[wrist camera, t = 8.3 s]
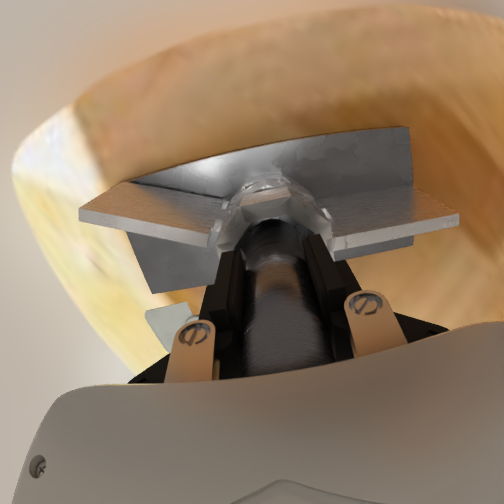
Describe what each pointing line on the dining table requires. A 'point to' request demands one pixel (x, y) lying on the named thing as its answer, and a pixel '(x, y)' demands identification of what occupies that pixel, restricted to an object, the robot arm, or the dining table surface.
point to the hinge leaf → (171, 212)
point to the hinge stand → (298, 200)
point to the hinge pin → (280, 305)
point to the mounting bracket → (169, 322)
